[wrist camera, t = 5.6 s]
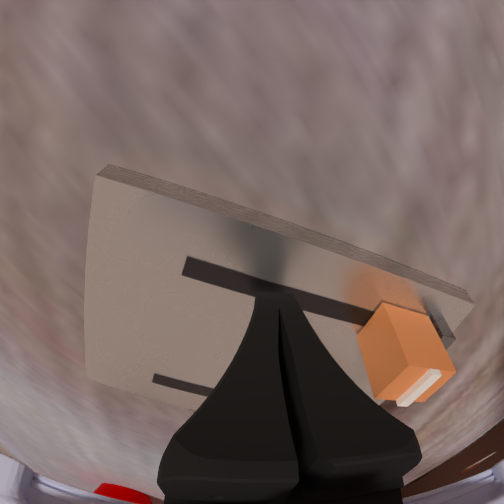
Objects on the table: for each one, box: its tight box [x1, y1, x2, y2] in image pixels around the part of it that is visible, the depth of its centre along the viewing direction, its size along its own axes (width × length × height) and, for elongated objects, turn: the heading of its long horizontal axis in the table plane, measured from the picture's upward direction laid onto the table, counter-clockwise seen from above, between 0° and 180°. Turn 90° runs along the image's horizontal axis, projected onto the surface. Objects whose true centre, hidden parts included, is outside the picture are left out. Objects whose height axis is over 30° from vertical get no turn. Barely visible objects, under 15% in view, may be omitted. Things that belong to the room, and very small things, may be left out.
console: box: [84, 164, 475, 410], centre depth 15 cm, size 18×13×3 cm
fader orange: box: [356, 302, 456, 407], centre depth 12 cm, size 3×2×4 cm
